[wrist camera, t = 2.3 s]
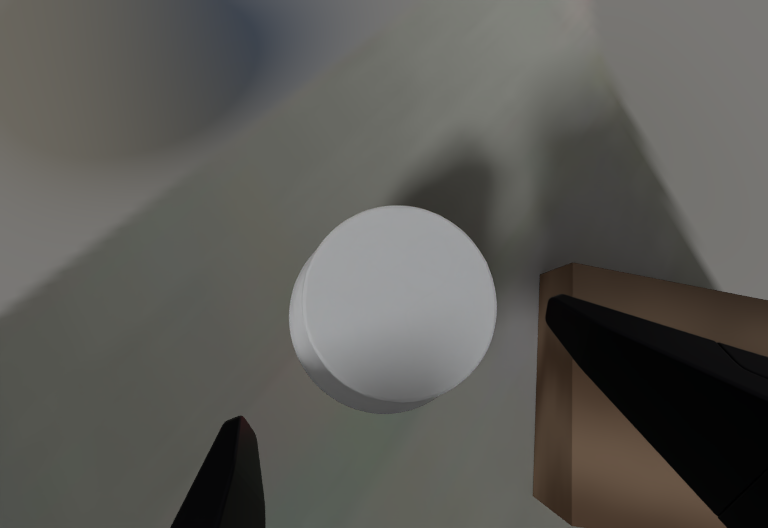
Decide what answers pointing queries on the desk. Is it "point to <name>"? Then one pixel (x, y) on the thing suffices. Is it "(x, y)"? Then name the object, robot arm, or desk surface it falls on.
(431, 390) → the pill bottle
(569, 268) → the walnut plinth
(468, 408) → the desk surface
